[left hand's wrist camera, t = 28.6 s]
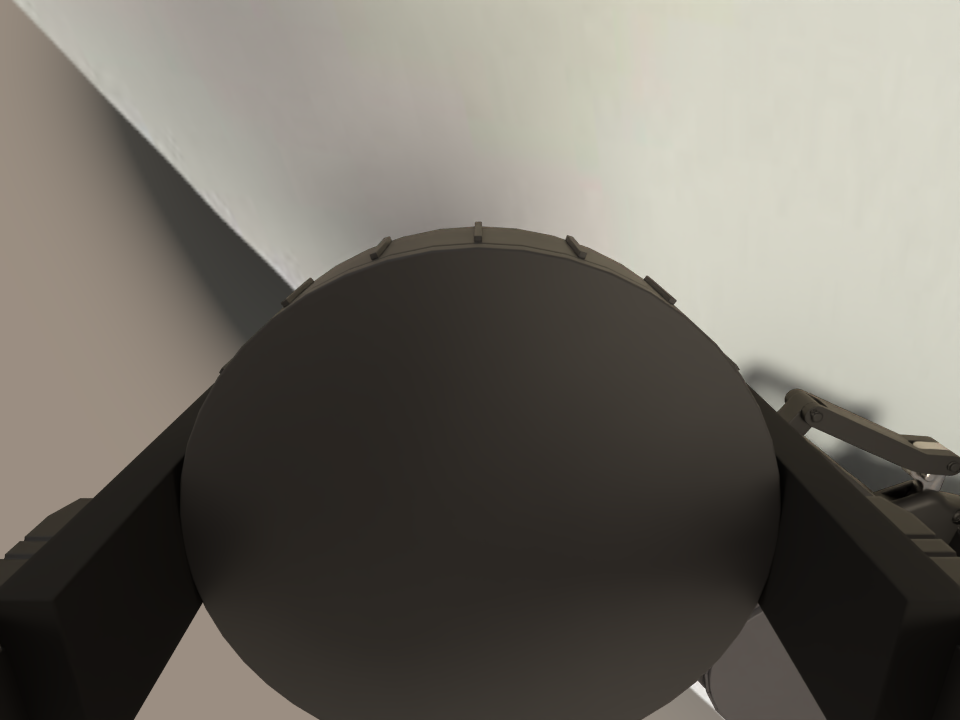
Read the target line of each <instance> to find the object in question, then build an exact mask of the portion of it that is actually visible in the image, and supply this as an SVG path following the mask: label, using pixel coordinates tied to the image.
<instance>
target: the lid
mask: <svg viewBox="0 0 960 720" xmlns="http://www.w3.org/2000/svg"><path fill="white" fill-rule="evenodd" d="M676 301H677V300H676V299H674V298H673V297H672V296H671V295H670V294H669V293H667V292H666V291H665V290H664V289H663V288H662V287H661V286H659V285H658V284H657V283H656V282H655V281H654V280H652V279H651V278H650V277H649V276H646V277H645V278H644V279H642V278H641V277H639V276H638V275H637V274H635V273H634V272H632V271H631V270H629V269H628V268H626V267H625V266H624V265H622V264H620V263H618V262H616V261H614V260H612V259H610V258H608V257H606V256H604V255H602V254H600V253H598V252H596V251H594V250H592V249H590V248H588V247H585V246H582V245H579V243H578V242H577V241H576V240H575V239H574V238H573V237H571V236H568V235H567V237H566V240H564V239H561V238H558V237H555V236H551V235H546V234H541V233H536V232H531V231H526V230H521V229H514V228H497V227H482V222H475V227H463V228H449V229H439V230H434V231H429V232H424V233H420V234H415V235H410V236H405V237H402V238H399V239H396V240H393V241H391V238H390V236H389V237H386V238H384V239H383V240H382V241H381V242H380V243H379V245H378V246H376V247H373V248H371V249H368V250H366V251H364V252H362V253H360V254H358V255H356V256H354V257H352V258H350V259H348V260H347V261H345V262H343V263H341V264H339V265H337V266H335V267H334V268H332V269H331V270H330V271H328V272H327V273H325V274H324V275H322V276H321V277H320V278H318V279H317V280H315V281H313V279H312V278H309V279H308V280H307V281H306V282H304V283H303V284H302V285H301V286H300V287H299V288H297V289H296V290H295V291H294V292H293V293H292V294H290V295H289V296H288V297H287V298H286V299H285V300H283V301H282V302H281V304H282V305H283V307H284V308H282V309H281V310H280V311H279V312H278V313H277V314H276V315H275V316H274V317H272V318H271V319H270V320H269V321H268V322H267V323H266V324H265V325H264V326H263V327H262V328H261V329H260V330H259V331H258V332H257V333H256V334H254V335H253V336H252V337H251V338H250V339H249V340H248V341H247V342H246V343H245V344H244V345H243V346H242V347H241V348H240V349H239V351H238V352H237V353H236V355H235V356H234V357H233V358H232V359H231V360H230V361H229V362H228V363H227V364H226V365H225V366H223V367H222V369H221V370H220V372H219V373H220V375H219V377H218V378H217V380H216V382H215V383H214V385H213V387H212V389H211V391H210V392H209V394H208V396H207V398H206V400H205V401H204V403H203V405H202V407H201V409H200V410H199V413H198V416H197V419H196V421H195V424H194V427H193V430H192V432H191V435H190V438H189V441H188V443H187V448H186V453H185V458H184V464H183V469H182V474H181V482H180V513H179V514H180V522H181V529H182V534H183V540H184V546H185V551H186V555H187V560H188V564H189V568H190V572H191V575H192V579H193V581H194V583H195V585H196V588H197V590H198V592H199V595H200V597H201V599H202V601H203V604H204V606H205V608H206V610H207V611H208V613H209V615H210V616H211V618H212V619H213V621H214V623H215V624H216V626H217V628H218V629H219V631H220V632H221V634H222V636H223V637H224V638H225V639H226V641H227V642H228V643H229V644H230V646H231V647H232V648H233V649H234V650H235V652H236V653H237V654H238V655H239V657H240V658H241V659H242V660H243V662H244V663H246V664H247V665H248V666H249V667H250V668H251V669H252V670H253V671H254V672H255V673H256V674H257V675H258V676H259V677H260V678H261V679H262V680H263V681H264V682H265V683H266V684H268V685H269V686H270V687H271V688H273V689H274V690H275V691H277V692H278V693H279V694H281V695H282V696H283V697H285V698H286V699H287V700H289V701H290V702H291V703H293V704H294V705H296V706H297V707H299V708H301V709H302V710H304V711H306V712H307V713H309V714H311V715H313V716H314V717H316V718H318V719H319V720H642V719H643V718H645V717H647V716H648V715H650V714H652V713H653V712H655V711H656V710H658V709H660V708H661V707H663V706H665V705H666V704H668V703H670V702H671V701H672V700H674V699H675V698H676V697H677V696H679V695H680V694H681V693H683V692H684V691H685V690H686V689H688V688H689V687H690V686H692V685H693V684H694V683H695V682H697V681H698V680H699V679H700V678H701V677H702V676H703V675H704V674H705V673H706V672H707V671H708V670H709V669H710V668H711V667H712V666H713V665H714V664H715V663H716V662H717V661H718V660H719V659H720V658H721V656H722V655H723V654H724V653H725V651H726V650H727V649H728V648H729V646H730V645H731V644H732V643H733V641H734V640H735V639H736V638H737V636H738V635H739V634H740V632H741V630H742V629H743V627H744V625H745V624H746V622H747V620H748V619H749V617H750V615H751V614H752V612H753V610H754V609H755V607H756V605H757V603H758V601H759V598H760V596H761V594H762V591H763V589H764V587H765V584H766V582H767V580H768V577H769V574H770V571H771V567H772V563H773V558H774V553H775V548H776V544H777V538H778V532H779V526H780V517H781V496H780V475H779V470H778V466H777V461H776V456H775V451H774V446H773V442H772V439H771V436H770V433H769V431H768V428H767V426H766V423H765V420H764V418H763V415H762V412H761V410H760V407H759V405H758V404H757V402H756V400H755V398H754V397H753V395H752V393H751V391H750V390H749V388H748V386H747V384H746V383H745V381H744V379H743V378H742V376H741V374H740V373H739V372H738V371H739V368H738V366H737V365H736V364H735V363H734V362H733V361H732V360H731V359H730V358H729V357H727V356H726V355H725V354H724V353H723V352H722V350H721V349H720V348H719V347H718V345H717V344H716V343H715V342H714V341H713V340H712V339H710V338H709V337H708V336H707V335H706V334H705V333H704V332H703V331H702V330H701V329H700V328H699V327H697V326H696V325H695V324H694V323H693V322H692V321H691V320H690V319H689V318H688V317H687V316H686V315H684V314H683V313H682V312H681V311H680V310H679V309H678V308H677V307H676V306H674V304H675V302H676Z"/></svg>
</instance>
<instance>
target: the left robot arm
mask: <svg viewBox="0 0 960 720" xmlns="http://www.w3.org/2000/svg"><path fill="white" fill-rule="evenodd" d="M746 384H747V383H746ZM213 385H214V384H213ZM213 385H212V386H211V387H210V388H209V389H208V390H207V391H205V392H204V393H203V394H202V395H201V396H200V397H199V398H198V399H197V400H196V401H195V402H194V403H193V404H192V405H191V406H190V407H189V408H188V409H187V410H185V411H184V412H183V413H182V414H181V415H180V416H179V417H178V418H177V419H176V420H175V421H174V422H173V423H172V424H171V425H170V426H169V427H168V428H167V429H165V430H164V431H163V432H162V433H161V434H160V435H159V436H158V437H157V438H156V439H155V440H154V441H153V442H152V443H151V444H150V445H149V446H148V447H147V448H146V449H144V450H143V451H142V452H141V453H140V454H139V455H138V456H137V457H136V458H135V459H134V460H133V461H132V462H131V463H130V464H129V465H128V466H127V467H125V468H124V469H123V470H122V471H121V472H120V473H119V474H118V475H117V476H116V477H115V478H114V479H113V480H112V481H111V482H110V483H109V484H108V485H107V486H106V487H104V488H103V490H101V491H100V492H99V493H98V494H97V495H96V496H95V497H94V498H80V499H78V500H76V501H75V502H73V503H71V504H69V505H67V506H66V507H64V508H62V509H60V510H58V511H57V512H55V513H53V514H51V515H49V516H48V517H47V518H45V519H44V520H43V521H42V522H41V523H40V524H39V525H38V526H36V527H35V528H34V529H33V530H32V531H31V532H30V533H29V534H27V535H26V536H25V540H24V541H20V542H19V543H17V544H16V545H15V546H14V547H13V548H12V549H11V550H10V551H8V552H7V553H6V554H5V558H4V559H0V720H134V719H135V717H136V715H137V713H138V712H139V710H140V708H141V707H142V705H143V703H144V702H145V700H146V698H147V696H148V695H149V693H150V691H151V690H152V688H153V686H154V684H155V683H156V681H157V679H158V678H159V676H160V674H161V673H162V671H163V669H164V667H165V666H166V664H167V662H168V661H169V659H170V657H171V656H172V654H173V652H174V650H175V649H176V647H177V645H178V644H179V642H180V640H181V638H182V637H183V635H184V633H185V632H186V630H187V628H188V627H189V625H190V623H191V622H192V620H193V618H194V616H195V615H196V613H197V611H198V610H199V608H200V606H201V605H202V603H203V601H202V599H201V597H200V595H199V592H198V590H197V588H196V585H195V583H194V581H193V579H192V575H191V572H190V568H189V564H188V560H187V555H186V551H185V546H184V540H183V534H182V529H181V522H180V514H179V513H180V482H181V474H182V469H183V464H184V458H185V453H186V448H187V443H188V441H189V438H190V435H191V432H192V430H193V427H194V424H195V421H196V419H197V416H198V413H199V410H200V409H201V407H202V405H203V403H204V401H205V400H206V398H207V396H208V394H209V392H210V391H211V389H212V387H213ZM747 386H748V388H749V390H750V391H751V393H752V395H753V397H754V398H755V400H756V402H757V404H758V405H759V407H760V410H761V412H762V415H763V418H764V420H765V423H766V426H767V428H768V431H769V433H770V436H771V439H772V442H773V446H774V451H775V456H776V461H777V466H778V470H779V475H780V496H781V517H780V526H779V532H778V538H777V544H776V548H775V553H774V558H773V563H772V567H771V571H770V574H769V577H768V580H767V582H766V584H765V587H764V589H763V591H762V594H761V596H760V598H759V601H758V604H759V606H760V607H761V609H762V611H763V612H764V614H765V616H766V617H767V619H768V621H769V623H770V624H771V626H772V628H773V629H774V631H775V633H776V634H777V636H778V638H779V640H780V641H781V643H782V645H783V646H784V648H785V650H786V651H787V653H788V655H789V657H790V658H791V660H792V662H793V663H794V665H795V667H796V668H797V670H798V672H799V674H800V675H801V677H802V679H803V680H804V682H805V684H806V686H807V687H808V689H809V691H810V692H811V694H812V696H813V697H814V699H815V701H816V703H817V704H818V706H819V708H820V709H821V711H822V713H823V714H824V716H825V718H826V720H960V557H957V555H956V552H955V551H954V550H953V549H952V548H951V547H950V546H949V545H947V544H946V543H945V542H944V541H943V540H942V539H937V537H936V536H937V535H936V534H935V533H934V532H933V531H932V530H931V529H929V528H928V527H927V526H926V525H925V524H924V523H923V522H922V521H920V520H919V519H918V518H917V517H916V516H915V515H914V514H912V513H910V512H909V511H907V510H905V509H903V508H901V507H899V506H898V505H896V504H894V503H892V502H890V501H888V500H887V499H885V498H883V497H881V496H864V495H863V494H862V493H861V492H860V491H859V490H858V489H857V488H856V487H855V486H854V485H853V484H852V483H851V482H850V481H849V480H848V479H847V478H845V477H844V476H843V475H842V474H841V473H840V472H839V471H838V470H837V469H836V468H835V467H834V466H833V465H832V464H831V463H830V462H829V461H828V460H827V459H825V458H824V457H823V456H822V455H821V454H820V453H819V452H818V451H817V450H816V449H815V448H814V447H813V446H812V445H811V444H810V443H809V442H808V441H807V440H805V439H804V438H803V437H802V436H801V435H800V434H799V433H798V432H797V431H796V430H795V429H794V428H793V427H792V426H791V425H790V424H789V423H788V422H787V421H785V420H784V419H783V418H782V417H781V416H780V415H779V414H778V413H777V412H776V411H775V410H774V409H773V408H772V407H771V406H770V405H769V404H768V403H767V402H765V401H764V400H763V399H762V398H761V397H760V396H759V395H758V394H757V393H756V392H755V391H754V390H753V389H752V388H751V387H750V386H749V385H748V384H747Z"/></svg>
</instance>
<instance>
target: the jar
mask: <svg viewBox="0 0 960 720" xmlns="http://www.w3.org/2000/svg"><path fill="white" fill-rule="evenodd" d="M698 681H699V682H700V684H701V685H702V686H703V687H704V688H705V689H706V692H707V694H708V696H709V698H710V700H711V702H712V704H713V706H714V708H715V710H716V711H717V712H718V713H719V714H720V715H721V716H722V717H723V718H724V719H725V720H826V718H825V716H824V714H823V713H822V711H821V709H820V708H819V706H818V704H817V703H816V701H815V699H814V697H813V696H812V694H811V692H810V691H809V689H808V687H807V686H806V684H805V682H804V680H803V679H802V677H801V675H800V674H799V672H798V670H797V668H796V667H795V665H794V663H793V662H792V660H791V658H790V657H789V655H788V653H787V651H786V650H785V648H784V646H783V645H782V643H781V641H780V640H779V638H778V636H777V634H776V633H775V631H774V629H773V628H772V626H771V624H770V623H769V621H768V619H767V617H766V616H765V614H764V612H763V611H762V609H761V607H760V606H759V604H758V603H757V605H756V607H755V609H754V610H753V612H752V614H751V615H750V617H749V619H748V620H747V622H746V624H745V625H744V627H743V629H742V630H741V632H740V634H739V635H738V636H737V638H736V639H735V640H734V641H733V643H732V644H731V645H730V646H729V648H728V649H727V650H726V651H725V653H724V654H723V655H722V656H721V658H720V659H719V660H718V661H717V662H716V663H715V664H714V665H713V666H712V667H711V668H710V669H709V670H708V671H707V672H706V673H705V674H704V675H703V676H702V677H701V678H700V679H699V680H698Z"/></svg>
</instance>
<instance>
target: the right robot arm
mask: <svg viewBox="0 0 960 720" xmlns="http://www.w3.org/2000/svg"><path fill="white" fill-rule="evenodd" d="M777 413H778V414H779V415H780V416H781V417H782V418H783V419H784V420H785V421H787V422H788V423H789V424H790V425H791V426H792V427H793V428H794V429H795V430H796V431H797V432H798V433H799V434H800V435H801V436H802V437H803V438H804V439H805V440H807V441H808V442H809V443H810V444H811V445H812V446H813V447H814V448H815V449H816V450H817V451H818V452H819V453H820V454H821V455H822V456H823V457H824V458H825V459H827V460H828V461H829V462H830V463H831V464H832V465H833V466H834V467H835V468H836V469H837V470H838V471H839V472H840V473H841V474H842V475H843V476H844V477H845V478H847V479H848V480H849V481H850V482H851V483H852V484H853V485H854V486H855V487H856V488H857V489H858V490H859V491H860V492H861V493H862V494H863V495H864V496H881V497H883V498H885V499H887V500H888V501H890V502H892V503H894V504H896V505H898V506H899V507H901V508H903V509H905V510H907V511H909V512H910V513H912V514H914V515H915V516H916V517H917V518H918V519H919V520H920V521H922V522H923V523H924V524H925V525H926V526H927V527H928V528H929V529H931V530H932V531H933V532H934V533H935V534H936V535H937V536H936V537H937V539H942V540H943V541H944V542H945V543H946V544H947V545H949V546H950V547H951V548H952V549H953V550H954V551H955V552H956V555H957V557H960V495H956V494H951V493H946V492H941V491H940V489H941V486H942V484H943V481H944V478H945V476H952V475H956V474H958V473H959V472H960V457H959V456H957V455H956V454H955V453H953V452H952V451H950V450H949V449H947V448H946V447H944V446H943V445H941V444H940V443H939V442H937V441H936V440H934V439H933V438H931V437H928V436H914V435H900V434H897V433H895V432H893V431H891V430H889V429H887V428H884V427H882V426H880V425H878V424H876V423H873V422H871V421H869V420H867V419H865V418H862V417H860V416H858V415H856V414H854V413H851V412H849V411H847V410H845V409H843V408H841V407H838V406H836V405H834V404H832V403H830V402H827V401H825V400H823V399H821V398H819V397H816V396H814V395H812V394H810V393H808V392H805V391H803V390H801V389H793V390H791V391H789V392H788V393H787V394H786V396H785V404H784V406H783V407H782V408H781V409H780V410H779V411H778V412H777ZM811 427H814V428H816V429H818V430H820V431H823V432H825V433H827V434H829V435H832V436H834V437H836V438H838V439H841V440H843V441H845V442H847V443H849V444H852V445H854V446H856V447H858V448H861V449H863V450H865V451H867V452H870V453H872V454H874V455H876V456H879V457H881V458H883V459H885V460H887V461H890V462H892V463H894V464H896V465H899V466H901V467H902V469H903V470H904V471H905V472H907V473H908V474H909V475H910V476H912V477H913V480H909V481H906V482H903V483H900V484H897V485H894V486H891V487H888V488H885V489H882V490H879V491H876V492H872V491H871V490H870V489H869V488H868V487H866V486H865V485H864V484H863V483H861V482H860V481H859V480H858V479H857V478H855V477H854V476H853V475H852V474H850V473H849V472H847V471H846V470H845V469H844V468H843V467H841V466H840V465H839V464H838V463H836V462H835V461H834V460H833V459H832V458H830V457H829V456H828V455H827V454H825V453H824V452H823V451H822V450H821V449H819V448H818V447H817V446H816V445H815V444H813V443H812V442H811V441H810V440H808V439H807V438H806V437H805V436H804V435H805V434H806V432H807V431H808V430H809V429H810V428H811Z"/></svg>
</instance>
